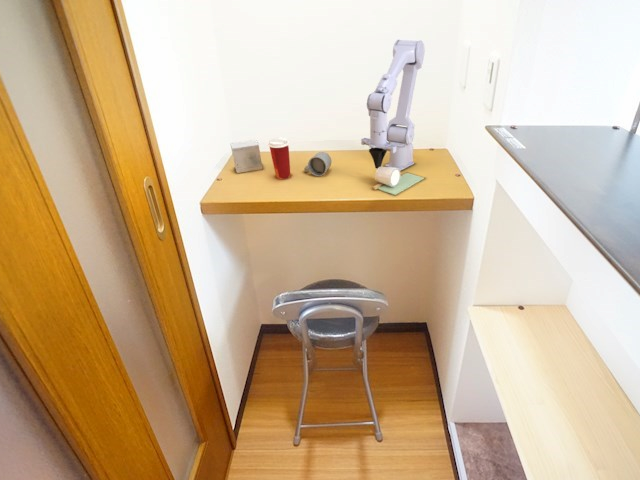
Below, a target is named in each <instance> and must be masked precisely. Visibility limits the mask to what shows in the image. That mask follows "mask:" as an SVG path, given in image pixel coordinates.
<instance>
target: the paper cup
mask: <svg viewBox="0 0 640 480" xmlns="http://www.w3.org/2000/svg"><path fill="white" fill-rule="evenodd" d="M289 145H290V142H289V140H288V139H287V138H285V137H276V138H271V139H270V140H269V142H268V145H267V146H268V147H269V151H270V154H271V160H272V165H273V170H274V174H275V178H277V179H279V180H286V179H289V178H290V177H291V160H290V149H289V148H290V147H289Z"/></svg>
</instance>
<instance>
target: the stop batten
mask: <svg viewBox="0 0 640 480" xmlns="http://www.w3.org/2000/svg"><path fill="white" fill-rule="evenodd" d="M383 185H385V184H383V183H380V182H378V183H377V184H375V185H373V186H372V189H373V190H374V191H376V190H378V189H377V188H379V187H381V186H383Z"/></svg>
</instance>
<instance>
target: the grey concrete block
mask: <svg viewBox="0 0 640 480" xmlns="http://www.w3.org/2000/svg"><path fill="white" fill-rule="evenodd" d="M230 148H231V154H232V158H233V162H234V163H233V164H234V168H235V171H236V174H241V173H246V172H254V171H260V170H264V169H263V163H262V157H261V150H260V144H259V142H258V140H257V139H252V140H243V141H235V142H230Z"/></svg>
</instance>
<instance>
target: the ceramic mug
mask: <svg viewBox="0 0 640 480" xmlns="http://www.w3.org/2000/svg"><path fill="white" fill-rule="evenodd" d="M331 165H332V157H331V156H330V154H328V153H327V152H324V151H321V152H317V153H316V154H314V155H313V156H312V157H310V159H309V160H308V163H307V165H306V166H305V167H303V170H304V172H305V173H308V172H309V173H310V174H312V175H313V176H315V177H321V176H324V175H325V174H326V173H327V172H328V170H329V169H331V168H330V167H331Z"/></svg>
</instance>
